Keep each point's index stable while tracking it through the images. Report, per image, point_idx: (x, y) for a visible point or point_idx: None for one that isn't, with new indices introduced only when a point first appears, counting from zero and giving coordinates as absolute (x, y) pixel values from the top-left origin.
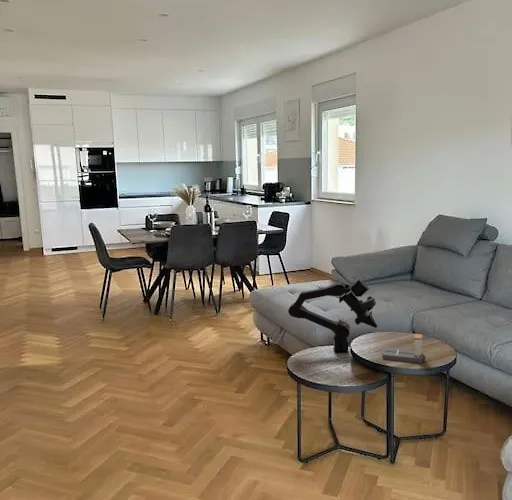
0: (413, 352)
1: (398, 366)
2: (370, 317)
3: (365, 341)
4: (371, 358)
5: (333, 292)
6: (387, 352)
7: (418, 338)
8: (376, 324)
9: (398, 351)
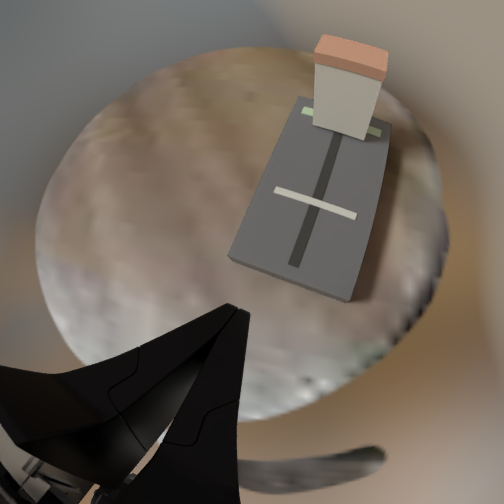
0: (317, 132)
1: (431, 240)
2: (213, 492)
3: (92, 324)
4: (329, 360)
5: None
6: (316, 260)
7: (386, 61)
8: (215, 316)
9: (304, 195)
